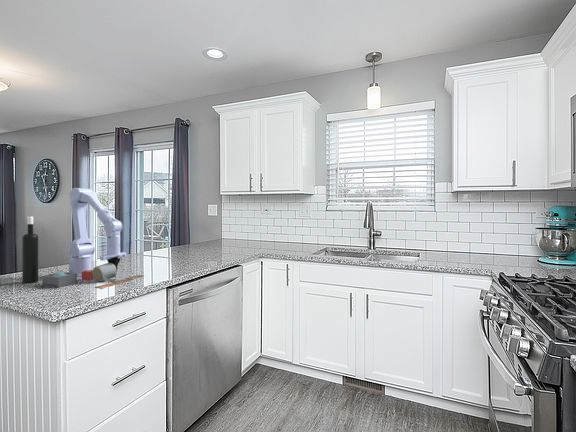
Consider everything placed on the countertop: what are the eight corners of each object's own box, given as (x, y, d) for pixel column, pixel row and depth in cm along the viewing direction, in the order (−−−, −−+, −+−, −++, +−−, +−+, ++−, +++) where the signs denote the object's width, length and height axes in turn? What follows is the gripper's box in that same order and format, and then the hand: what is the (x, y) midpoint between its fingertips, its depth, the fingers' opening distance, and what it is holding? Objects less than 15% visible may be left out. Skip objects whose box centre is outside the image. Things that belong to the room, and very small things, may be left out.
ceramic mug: (91, 280, 153) (90, 264, 152) (107, 276, 160) (106, 261, 159) (105, 284, 148) (105, 267, 148) (121, 279, 156) (121, 264, 155)
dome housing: (42, 285, 142) (42, 275, 142) (61, 281, 150) (61, 271, 150) (58, 287, 140) (58, 277, 139) (76, 283, 148) (76, 273, 148)
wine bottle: (36, 279, 152) (36, 216, 151) (40, 282, 148) (39, 216, 148) (20, 282, 148) (20, 216, 147) (24, 284, 144) (24, 216, 143)
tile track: (95, 287, 141) (95, 287, 141) (137, 275, 167) (137, 274, 167) (102, 288, 140) (102, 287, 140) (144, 276, 166) (144, 275, 166)
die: (81, 280, 154) (81, 271, 154) (86, 278, 158) (86, 269, 158) (90, 280, 154) (90, 271, 154) (94, 278, 158) (94, 269, 158)
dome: (49, 282, 143) (49, 272, 143) (60, 279, 148) (60, 269, 148) (59, 283, 142) (59, 273, 141) (70, 280, 147) (70, 270, 147)
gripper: (108, 247, 151) (109, 276, 151) (131, 244, 165) (131, 270, 165) (96, 246, 152) (96, 275, 153) (119, 243, 166) (119, 269, 167)
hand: (113, 272), depth 159 cm, fingers closed
